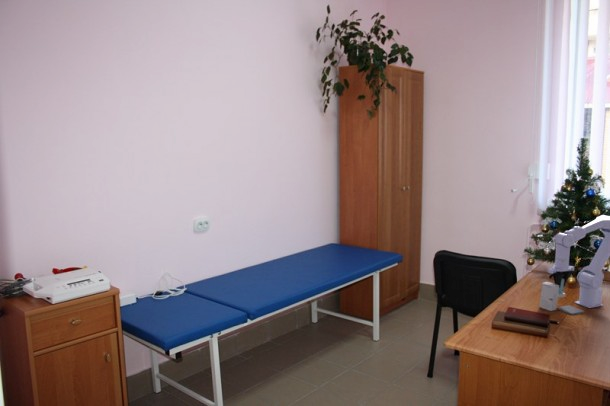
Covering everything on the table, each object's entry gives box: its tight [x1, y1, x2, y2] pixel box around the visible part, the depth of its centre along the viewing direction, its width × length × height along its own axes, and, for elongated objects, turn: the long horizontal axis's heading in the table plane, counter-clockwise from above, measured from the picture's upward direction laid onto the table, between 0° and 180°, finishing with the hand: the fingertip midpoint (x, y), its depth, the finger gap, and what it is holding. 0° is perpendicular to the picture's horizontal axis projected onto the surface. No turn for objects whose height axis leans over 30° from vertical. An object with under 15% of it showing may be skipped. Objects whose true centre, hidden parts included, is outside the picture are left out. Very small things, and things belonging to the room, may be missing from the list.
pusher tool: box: [558, 278, 566, 299], centre depth 220 cm, size 4×4×8 cm
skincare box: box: [539, 281, 559, 312], centre depth 218 cm, size 6×4×12 cm
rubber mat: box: [556, 304, 585, 316], centre depth 215 cm, size 8×8×1 cm
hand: (560, 286), depth 219 cm, fingers closed on pusher tool, 2 cm apart
